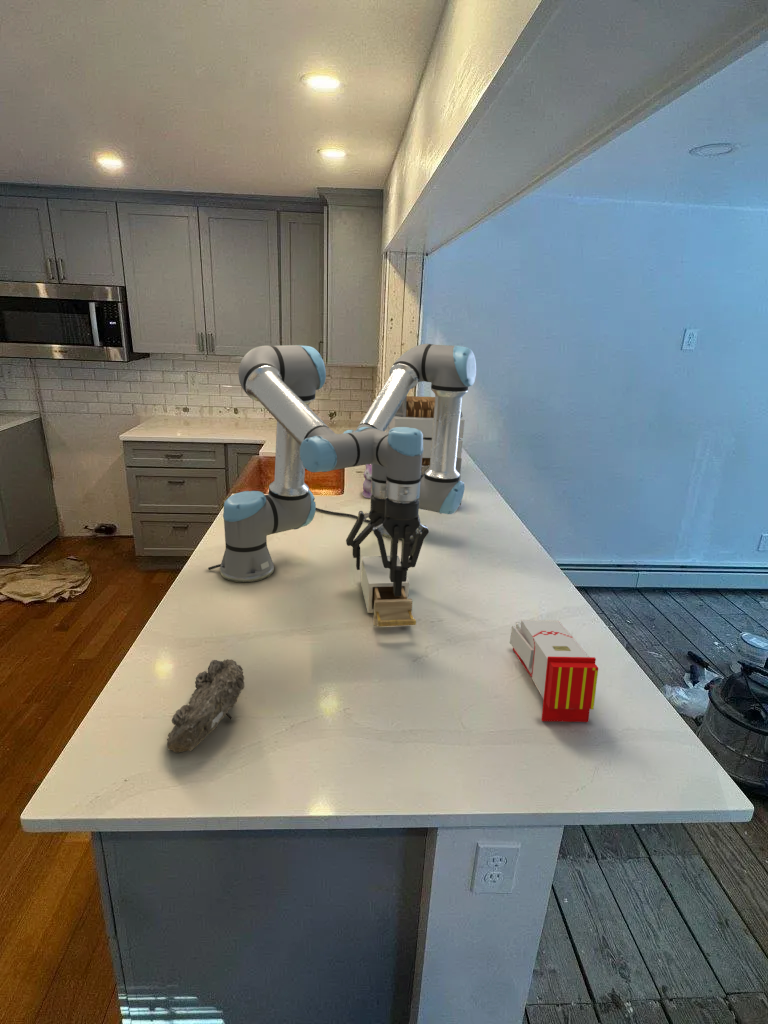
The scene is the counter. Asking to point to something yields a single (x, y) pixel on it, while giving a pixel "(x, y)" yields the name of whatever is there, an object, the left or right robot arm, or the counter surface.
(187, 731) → the fossil
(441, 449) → the right robot arm
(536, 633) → the toy
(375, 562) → the cabinet
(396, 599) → the drawer
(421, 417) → the white slatted crate
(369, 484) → the figurine
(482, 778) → the counter surface
